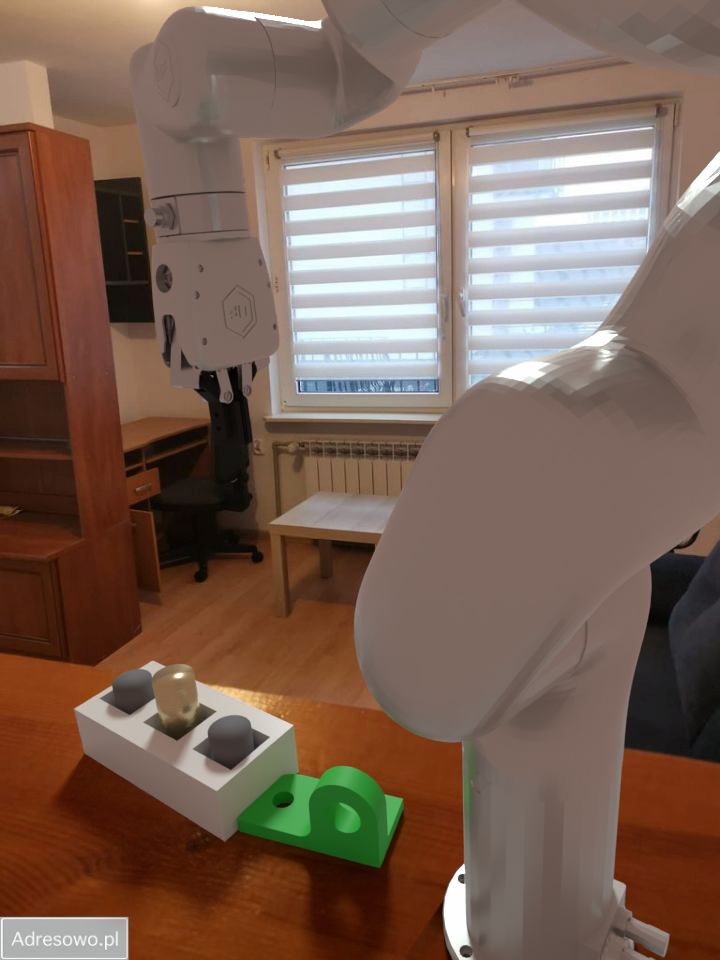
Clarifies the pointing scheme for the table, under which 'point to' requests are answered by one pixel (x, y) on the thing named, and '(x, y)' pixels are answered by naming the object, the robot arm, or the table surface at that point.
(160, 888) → the table surface
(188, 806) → the white peg holder block
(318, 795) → the mechanical part
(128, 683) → the far knob
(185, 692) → the brass knob
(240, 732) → the near knob
